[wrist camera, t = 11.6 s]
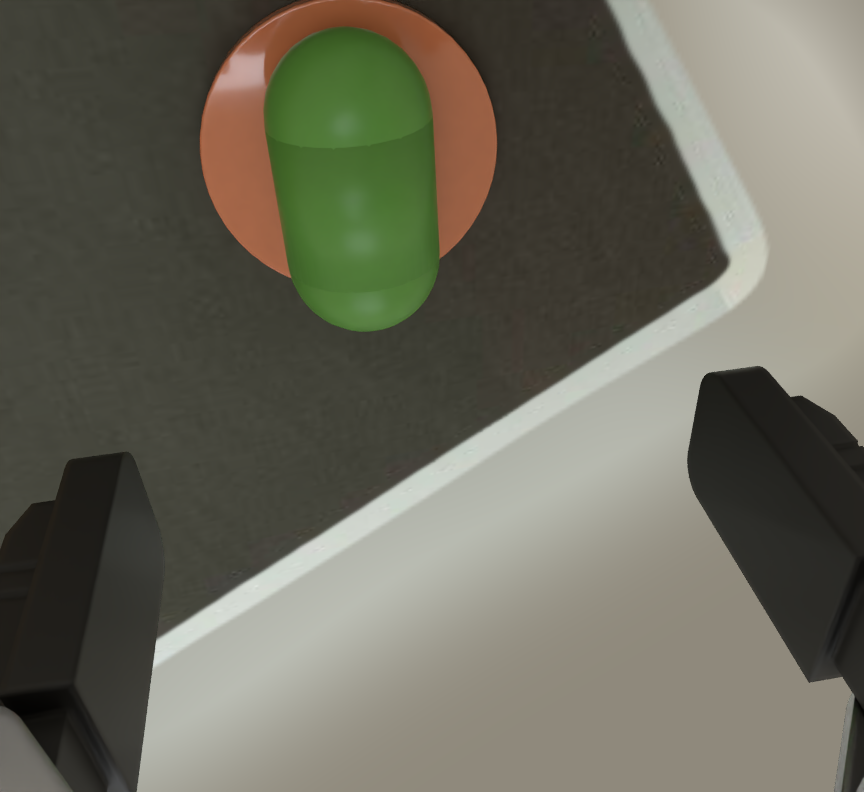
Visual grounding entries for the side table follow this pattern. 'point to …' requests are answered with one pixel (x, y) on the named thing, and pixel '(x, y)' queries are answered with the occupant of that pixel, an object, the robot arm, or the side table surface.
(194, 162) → the side table surface
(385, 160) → the cucumber
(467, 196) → the plate
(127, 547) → the robot arm
